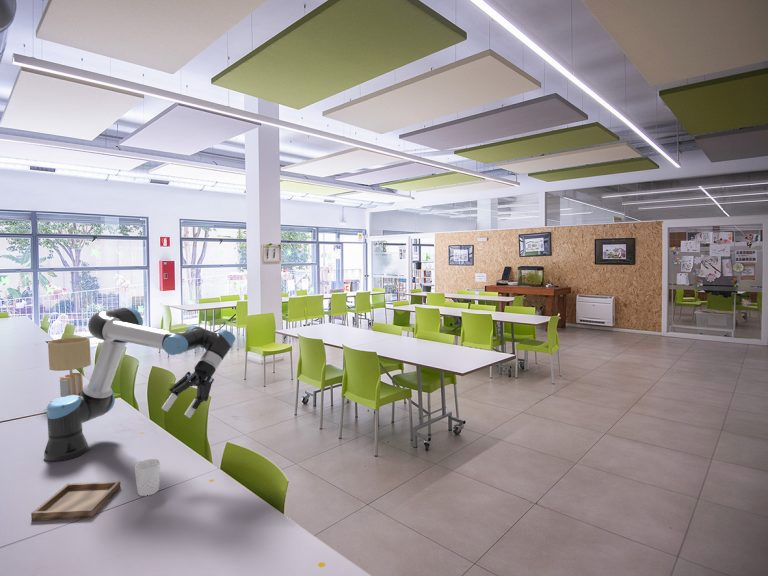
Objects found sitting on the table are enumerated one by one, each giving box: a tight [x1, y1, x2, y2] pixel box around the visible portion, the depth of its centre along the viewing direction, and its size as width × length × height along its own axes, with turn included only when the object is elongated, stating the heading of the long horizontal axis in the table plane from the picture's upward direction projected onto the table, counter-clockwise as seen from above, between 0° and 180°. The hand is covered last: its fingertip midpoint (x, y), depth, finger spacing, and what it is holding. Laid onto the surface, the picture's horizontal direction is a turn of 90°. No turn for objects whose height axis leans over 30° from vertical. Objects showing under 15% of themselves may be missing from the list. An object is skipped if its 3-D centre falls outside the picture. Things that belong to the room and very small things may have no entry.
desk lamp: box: [47, 336, 92, 403], centre depth 251 cm, size 20×20×35 cm
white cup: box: [134, 458, 161, 497], centre depth 155 cm, size 8×8×10 cm
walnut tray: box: [30, 480, 121, 522], centre depth 147 cm, size 18×18×2 cm
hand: (175, 413), depth 163 cm, fingers open, 13 cm apart
